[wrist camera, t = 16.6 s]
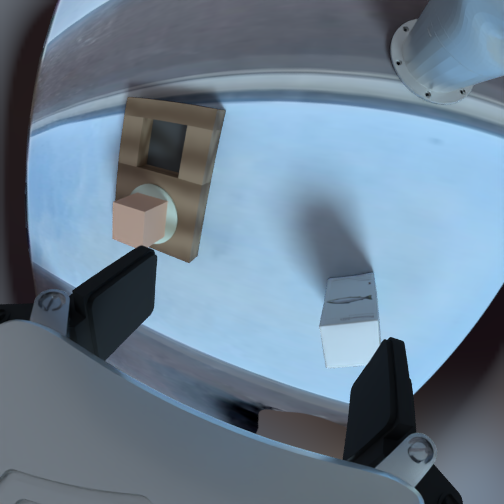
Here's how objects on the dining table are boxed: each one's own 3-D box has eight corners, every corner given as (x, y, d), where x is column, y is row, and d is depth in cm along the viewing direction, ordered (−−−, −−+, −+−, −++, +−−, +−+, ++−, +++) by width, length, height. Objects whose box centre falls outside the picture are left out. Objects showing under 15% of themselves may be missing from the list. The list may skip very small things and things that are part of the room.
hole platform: (138, 97, 42) (126, 97, 39) (225, 110, 39) (216, 109, 36) (124, 227, 53) (113, 232, 50) (197, 255, 50) (188, 263, 47)
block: (137, 192, 45) (113, 201, 40) (167, 201, 44) (144, 212, 39) (135, 226, 48) (112, 238, 42) (164, 236, 47) (142, 250, 41)
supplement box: (374, 270, 42) (380, 319, 31) (377, 311, 44) (382, 366, 33) (326, 276, 45) (317, 325, 34) (333, 316, 47) (325, 370, 36)
